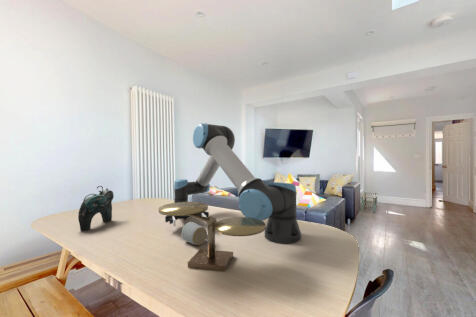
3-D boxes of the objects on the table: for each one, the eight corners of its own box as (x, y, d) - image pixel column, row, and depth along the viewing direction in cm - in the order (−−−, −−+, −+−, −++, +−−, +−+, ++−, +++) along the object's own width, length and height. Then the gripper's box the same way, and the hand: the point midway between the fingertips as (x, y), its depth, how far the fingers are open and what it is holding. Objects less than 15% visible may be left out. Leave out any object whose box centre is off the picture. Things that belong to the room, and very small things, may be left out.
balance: (268, 255, 75) (267, 204, 75) (262, 281, 59) (262, 216, 59) (174, 247, 83) (174, 201, 83) (148, 268, 67) (147, 211, 67)
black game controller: (106, 219, 122) (106, 183, 122) (117, 219, 121) (116, 183, 121) (75, 231, 103) (75, 188, 103) (88, 231, 102) (87, 189, 102)
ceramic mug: (193, 248, 81) (193, 228, 81) (181, 243, 87) (181, 223, 87) (214, 241, 89) (214, 222, 89) (202, 236, 95) (202, 218, 95)
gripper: (206, 215, 120) (217, 226, 101) (158, 220, 111) (160, 233, 91) (206, 201, 120) (217, 210, 101) (158, 205, 111) (160, 215, 91)
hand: (190, 221), depth 96 cm, fingers open, 13 cm apart
